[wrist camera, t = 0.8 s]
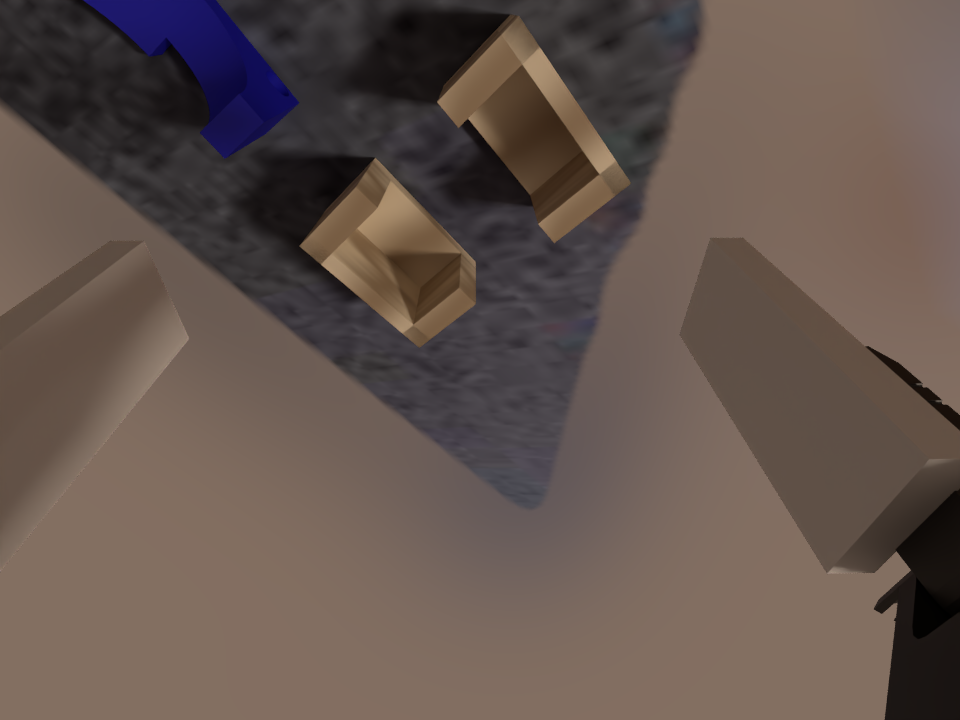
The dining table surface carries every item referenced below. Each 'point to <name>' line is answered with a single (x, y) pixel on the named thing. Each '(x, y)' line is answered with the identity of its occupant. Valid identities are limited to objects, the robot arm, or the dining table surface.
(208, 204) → the dining table surface
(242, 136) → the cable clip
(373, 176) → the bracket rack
